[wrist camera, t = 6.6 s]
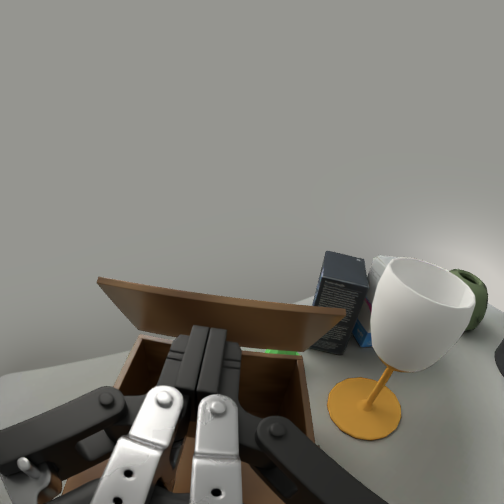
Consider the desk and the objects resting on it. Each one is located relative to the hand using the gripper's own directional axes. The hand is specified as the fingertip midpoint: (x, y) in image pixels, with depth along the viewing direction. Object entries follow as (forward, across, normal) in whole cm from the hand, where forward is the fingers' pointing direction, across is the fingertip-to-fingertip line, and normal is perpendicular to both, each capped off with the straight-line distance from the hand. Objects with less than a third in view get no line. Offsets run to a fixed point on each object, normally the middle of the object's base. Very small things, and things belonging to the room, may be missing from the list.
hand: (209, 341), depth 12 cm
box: (+20, -13, +15) cm, 28 cm away
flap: (+4, 0, +2) cm, 5 cm away
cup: (+7, -16, +15) cm, 23 cm away
